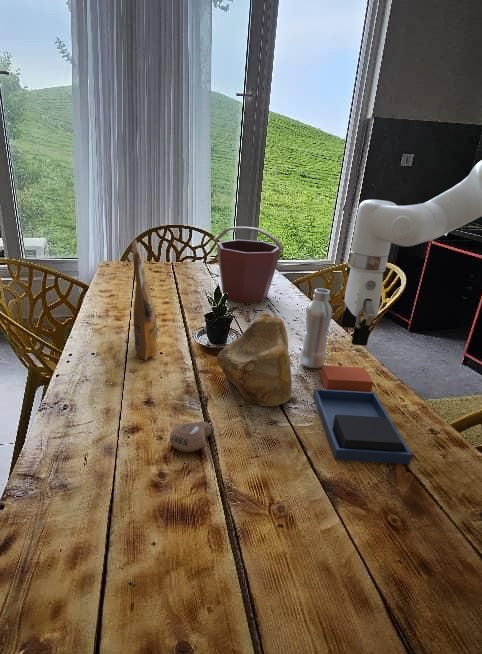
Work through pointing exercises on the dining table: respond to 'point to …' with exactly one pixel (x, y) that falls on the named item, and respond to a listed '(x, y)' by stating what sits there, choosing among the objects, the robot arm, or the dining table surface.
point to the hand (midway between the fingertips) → (352, 335)
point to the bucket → (247, 266)
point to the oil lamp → (190, 436)
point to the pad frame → (356, 406)
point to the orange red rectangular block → (346, 378)
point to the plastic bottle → (316, 330)
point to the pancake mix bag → (143, 311)
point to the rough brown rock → (260, 362)
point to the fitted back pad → (366, 433)
